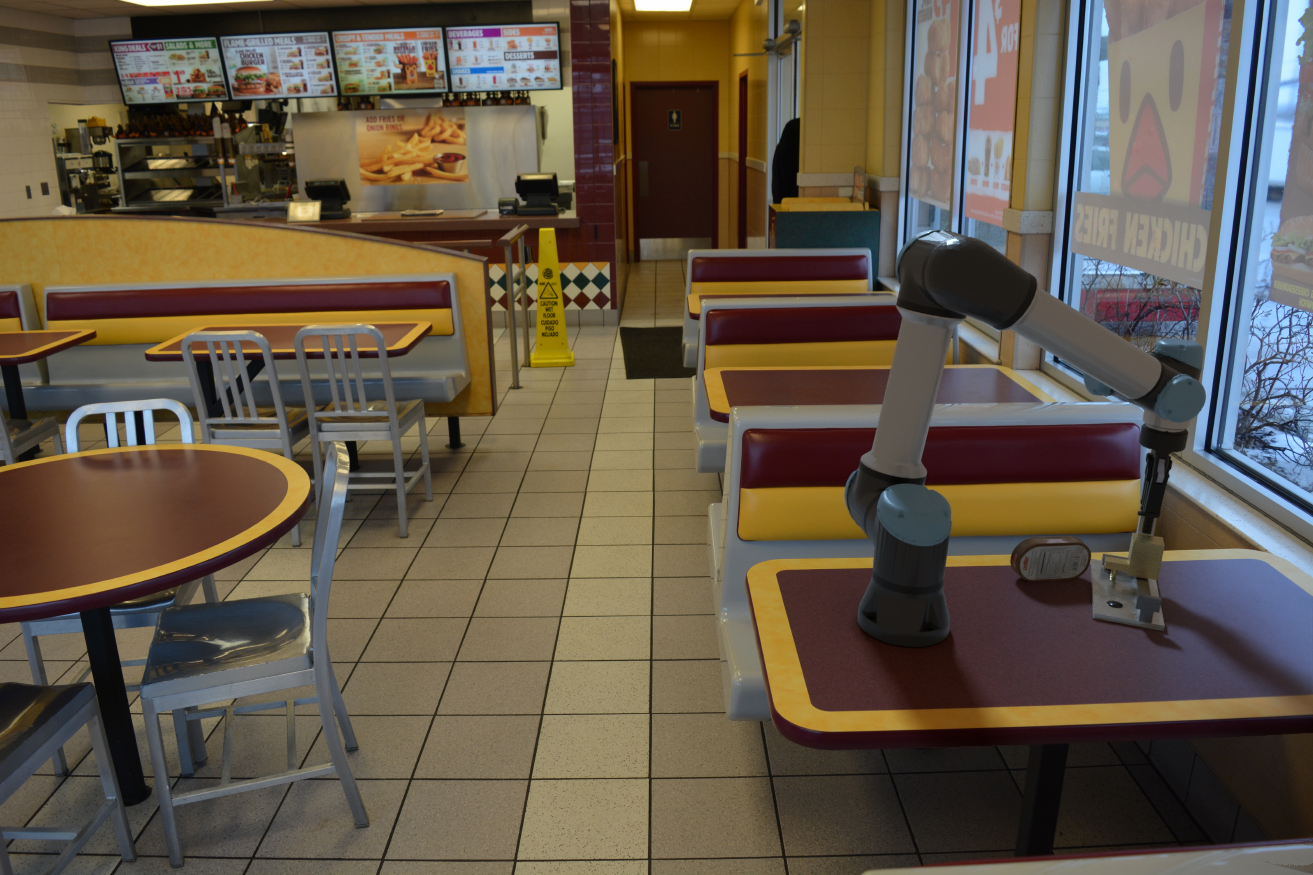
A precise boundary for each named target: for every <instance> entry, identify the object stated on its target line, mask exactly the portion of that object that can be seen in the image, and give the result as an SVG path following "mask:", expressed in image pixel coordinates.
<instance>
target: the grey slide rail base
mask: <svg viewBox="0 0 1313 875" xmlns="http://www.w3.org/2000/svg"><path fill="white" fill-rule="evenodd" d="M1105 556H1107V557H1113V558H1119V559H1126V560H1128V556H1126V557H1125V556H1119V555H1113V554H1107V553H1102V556H1101V561H1102V565H1104V562H1105ZM1132 577H1133V584H1134V592H1135V599H1136V605H1135V608H1136V609H1137V614H1138V621H1140V622H1146V623H1151V624H1152V619H1153V614H1154V612H1157V613H1159V611H1160V606H1161V605H1162V601H1163V600H1162V597H1160V596H1159V597H1155V596H1151V592H1150V587H1149V581H1148V579H1147V578H1141V577H1135V576H1132ZM1161 607H1162V606H1161Z"/></svg>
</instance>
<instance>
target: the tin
mask: <svg viewBox="0 0 1313 875" xmlns="http://www.w3.org/2000/svg"><path fill="white" fill-rule="evenodd" d="M1091 559H1092V551H1091V549H1090V548H1089V546H1088V545H1087V544H1086V543H1085V542H1084V541H1083V540H1082V539H1081V538H1079V537H1077V536H1072V535H1068V536H1067V535H1059V536H1056V535H1055V536H1032V537H1028V538H1025V539H1024V540H1022V541H1020V542H1019V543H1018V544H1017V545H1016V546H1015V547H1014V548H1013V549H1012V552H1011V555H1010V559H1009V561H1010V567H1011V569H1012V571H1013V572H1014V573H1016V574H1017V575H1018V576H1019V577H1020V578H1022V580H1024V581H1027V582H1032V583H1033V582H1056V581H1057V582H1058V581H1073V580H1075V579H1078V578H1080V577H1082V575H1084V574H1085V573H1086V571H1087V570H1088V569H1089V567H1090V565H1091Z"/></svg>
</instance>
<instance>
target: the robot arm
mask: <svg viewBox="0 0 1313 875" xmlns="http://www.w3.org/2000/svg"><path fill="white" fill-rule="evenodd" d="M895 276H896V279H897V281H898V283H899V290H898V293H897V299H896V304H895V308H896V309H897V311H898V313H899V314H900V316H901V323H900V328H899V331H898V334H897V336H898V337H897V340H896V345H895V349H894V353H893V358H892V362H891V367H890V370H889V374H888V379H887V384H886V388H885V392H884V397H883V401H882V405H881V410H880V414H879V417H878V423H877V426H876V430H875V434H874V440H873V442H872V448H871V450H870V451H868V452H866V453H864V454H863V455H861V457H860V460H859V465H858V468H857V469H856V470H854V471H853V472H851V474H850V475H849V477H848V479H847V481H846V484H845V487H844V494H843V495H844V504H845V506H846V509H847V511H848V514H849V516H850V518H852V520H853V521H854V522H855V524H856V525H857V526H858V527H859V528H860V529H861V530H862V531H863V533H864V534H865V536H866V537H867V538H868V539H869V541H870V542H871V543H872V544H873V549H874V550H873V560H872V570H871V571H872V572H871V579H870V582H869V583H868V585H867V587H866V589H865V592H864V594H863V596H862V598H861V600H860V602H859V604H858V610H857V619H856V620H857V623H858V626H859V627H860V629H862V631H864V633H865V634H867V635H868V636H870V637H872V638H874V639H876V640H877V641H878V640H879V641H880V642H884V643H886V644H890V645H895V646H899V647H900V646H901V647H907V648H921V647H922V648H923V647H929V646H934V645H937V644H939V643H941V642H943V641H945V639H947V637H948V635H949V633H950V626H951V625H950V624H951V616H950V613H949V608H948V605H947V601H946V595H945V592H944V591H945V590H944V582H945V575H946V574H945V573H946V567H947V561H948V559H947V558H948V551H949V542H950V536H951V535H950V534H951V531H952V525H953V521H952V507H951V504H950V503H949V501H948V499H947V498H946V497H945V496H944V495H942V493H940V492H938V491H936V490H934V489H928V486H925V483H926V479H927V473H928V471H927V468H926V467H925V466H924V464H923V462H922V457H923V453H924V449H925V446H926V442H927V441H926V440H927V436H928V433H929V429H930V425H931V422H932V421H931V420H932V416H933V412H934V411H935V410H934V408H935V406H936V402H937V397H938V394H939V388H940V385H941V380H942V378H943V377H942V376H943V373H944V369H945V365H946V362H947V357H948V355H949V354H948V352H949V349H950V345H951V341H952V336H953V333H954V330H955V327H957V326H958V325H960V324H961V323H963V322H964V321H966V319H967V317H969V318H972V319H975V320H977V321H979V322H982V323H984V324H986V325H988V326H990V327H992V328H993V329H995V330H997V331H1000V332H1004V331H1008V330H1010V331H1012V332H1014V333H1015V334H1017V335H1018V336H1020V337H1022V338H1023V339H1025V340H1027V341H1029V342H1031V343H1033V344H1034V345H1035V346H1037V347H1039V348H1041V349H1043V350H1044V351H1046V352H1048V353H1049V354H1051V355H1053V356H1055V357H1057V358H1058V359H1060V360H1062V361H1064V362H1065V363H1066V364H1069V365H1070V366H1072V367H1074V369H1077V370H1079V371H1081V372H1083V383H1084V386H1085V388H1086V391H1088V393H1090V394H1091V395H1093V396H1097V397H1098V396H1100V397H1105V398H1108V397H1112V396H1113V397H1118V398H1120V399H1122V400H1124V401H1127V402H1128V403H1131V404H1133V405H1135V406H1137V407H1140V408H1142V409H1143V414H1142V422H1143V424H1142V425H1141V428H1140V433H1139V439H1138V443H1139V444H1140V446H1142V447H1143V448H1145V449H1148V450H1151V451H1150V452H1147V453H1146V455H1145V462H1146V464H1145V468H1144V480H1143V486H1142V494H1141V499H1140V501H1139V502H1140V505H1141V506H1140V508H1139V509H1140V510H1137V516H1139V517H1138V523H1137V527H1136V532H1135V533H1137V534H1143V535H1150V536H1155V535H1154V534H1155V530H1156V524H1157V519H1159V518H1160V515H1161V513H1162V512H1161V510H1162V505H1163V501H1164V497H1165V492H1166V487H1167V484H1168V481H1169V479H1170V477H1171V476H1170V471H1172V468H1173V460H1172V456H1171V454H1172V453H1181V452H1183V451H1184V450H1185V449H1186V447H1187V442H1188V437H1189V431H1188V428H1189V427H1190V425H1191V420H1192V419H1194V418H1196V417H1197V416H1198V415H1199V414H1200V412H1201V411H1202V410H1203V408H1204V406H1205V403H1206V400H1207V394H1206V393H1207V392H1206V389H1205V387H1204V386H1203V383H1201V382H1200V378H1201V372H1202V371H1203V360H1204V347H1203V346H1202V345H1201V344H1200V343H1199V342H1196V341H1193V340H1188V339H1183V338H1182V339H1181V338H1163V339H1160V340H1157V342H1156V346H1155V348H1154V351H1145V350H1143V349H1141V348H1140V347H1138V346H1136V345H1135V344H1133V343H1131V342H1130V341H1128V340H1126V339H1125V338H1123V337H1121V336H1120V335H1119V334H1117V333H1115V332H1113V331H1111V329H1109V328H1107V327H1105V326H1103V325H1102V324H1100V323H1099V322H1098V321H1095V320H1094V319H1093V318H1090V317H1088V315H1085V314H1084V313H1082V312H1081V311H1079V310H1077V309H1076V308H1074V307H1072V306H1071V305H1068V303H1066V302H1064V301H1062V300H1061V299H1059V298H1057V297H1056V296H1055V295H1052V294H1051V293H1049V292H1048V291H1045V290H1044V289H1042V288H1041V287H1039V281H1038V278H1037V277H1036V276H1034V275H1033V274H1032V273H1030V272H1028V271H1026V270H1025V269H1023V268H1022V267H1021V266H1020V265H1018V264H1016V263H1015V262H1014V261H1013V260H1011V259H1009V258H1008V257H1006V256H1005V255H1004V254H1003V253H1001V252H1000V251H998V249H996V248H994V247H993V246H991V245H990V244H989V243H987V242H985V241H983V240H981V239H979V238H977V237H972V236H968V235H964V234H961V233H957V232H955V231H951V230H948V229H929V230H924V231H921V232H918V233H917V234H915V235H914V236H912V237H911V238H910V239H908V241H907V240H906V242H905V243H904V245H903V246H902V247H901V249H900V250H899V253H898V255H897V258H896V261H895Z"/></svg>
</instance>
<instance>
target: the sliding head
mask: <svg viewBox="0 0 1313 875" xmlns="http://www.w3.org/2000/svg"><path fill="white" fill-rule="evenodd" d="M1131 534H1132V535H1131V539H1130V545H1129V550H1128V556H1127V558H1128V560H1126V559H1119V558H1113V557H1107V556H1105V562H1104V566H1105V568H1106V569H1112V571H1111V576H1110V580H1112V581H1116V577H1117V572H1118V571H1124V572H1127V575H1129V576H1135V577H1141V578H1147V579H1153V580H1156V581H1159V577H1160V571H1161V567H1162V561H1163V556H1164V552H1165V542H1164V541H1165V540H1164V537H1162V536H1155V535H1154V536H1150V535H1143V534H1137V533H1136V532H1132V533H1131Z"/></svg>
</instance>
